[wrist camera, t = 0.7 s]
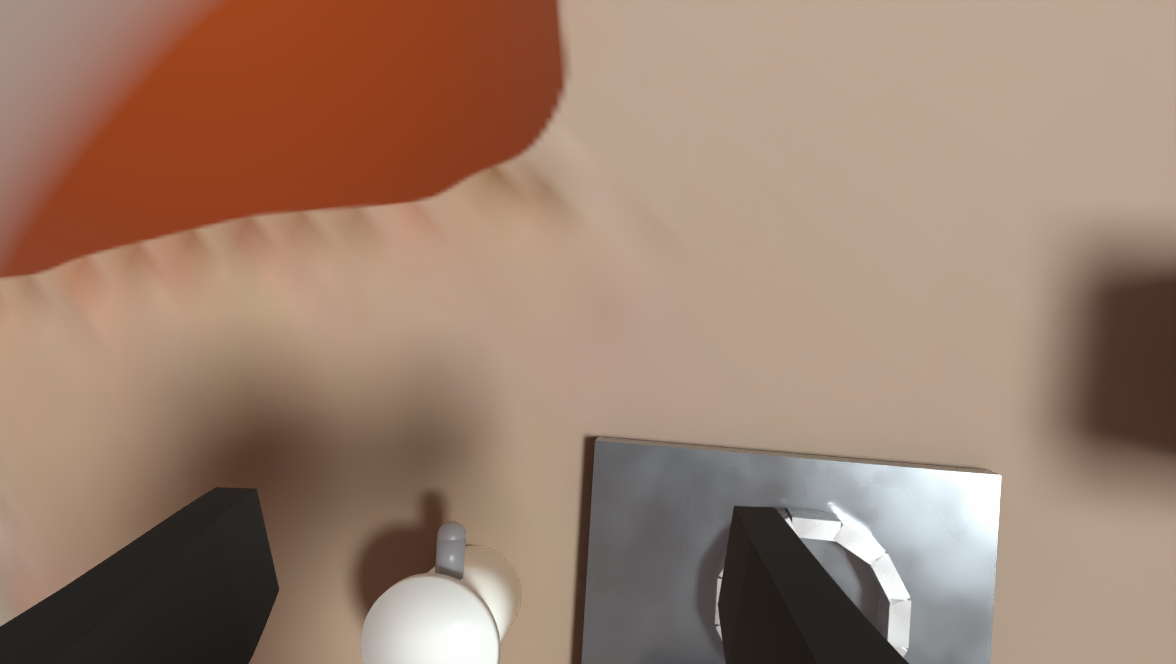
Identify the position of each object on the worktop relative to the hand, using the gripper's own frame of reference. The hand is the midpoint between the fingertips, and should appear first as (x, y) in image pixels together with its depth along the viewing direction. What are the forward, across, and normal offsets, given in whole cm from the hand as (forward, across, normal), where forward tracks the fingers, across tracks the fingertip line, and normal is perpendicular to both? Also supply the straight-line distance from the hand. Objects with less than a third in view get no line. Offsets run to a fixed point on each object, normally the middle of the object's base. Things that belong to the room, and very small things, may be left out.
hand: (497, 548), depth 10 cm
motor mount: (+13, -10, +18) cm, 24 cm away
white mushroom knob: (+16, +4, +18) cm, 24 cm away
